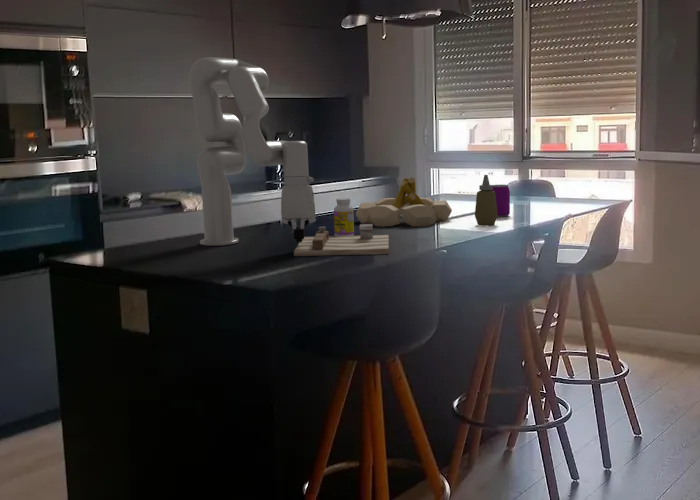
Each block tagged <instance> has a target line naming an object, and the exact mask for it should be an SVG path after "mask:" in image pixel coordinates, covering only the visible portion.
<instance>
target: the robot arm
mask: <svg viewBox="0 0 700 500" xmlns="http://www.w3.org/2000/svg"><path fill="white" fill-rule="evenodd" d="M188 84H189V89H190V92H191V95H192V99H193V107H194V114H195V123H196V131H197V135H198V138H199V139H200V140H201V142H204V143H206V144H207V143H209V144H215V143H216V144H217V143H218V144H219V143H220V144H221V146H211V147H207V148H204V149H202V150H200V152H199V153H198V155H197V158H196V167H197V171H198V175H199V179H200V187H201V200H202V201H201V202H202V217H203V219H202V220H203V234H204V238H203V239H201V240H199V244H200V245H201V246H206V247H207V246H209V247H211V246H212V247H214V246H216V247H217V246H218V247H219V246H228V245H234V244H237V243H239V238H238V237H236V236H235V235H234V221H233V219H234V218H233V203H232V202H233V201H232V200H233V199H232V188H231V185H230V183H229V180H228V179H227V176H231V175H239V174H240V173H241V172H242V171H244V170H245V168H246V163H247V155H246V150H247V152H248V155H249V156H250V158H251V159H252V161H253V162H254V163H255V164H256V165H257V166H260V167H271V166H282V165H283V167H282V168H283V180H284V183H283V184H284V185H283V186H282V187H281V195H280V196H281V197H280V199H281V200H280V213H281V215H280V216H281V218H280V223H281V224H286V225H289V226H290V227H291V228H292V230H293V239H294V240H296V241H295V242H296V243H300V242H302V240H303V239H304V237H305V228H306V227H307V226H308V225H309V224H312V223H315V222H316V221H317V218H316V205H315V197H314V189H313V186H312V185H310V183H314V181H315V179H314V177H311V176H310V173H309V171H310V170H309V156H308V155H309V153H308V151H309V150H308V143H307V142H306V141H304V140H290V141H289V140H284V139H283V140H266V139H265V138H264V135H263V134H262V131H261V128H260V121H261V119H262V118H264V117H265V116H266V115H268V112H269V111H270V106H269V104H268V102H267V99H266V97H265V95H264V93H265V92H266V91H267V90H268V89H269V86H270V78H269V76H268V74H267V72H266V71H265V70H264V69H263V68H262V67H260V66H257V65H254V64H251V63H249V62H245V61H243V60H241V59H237V58H230V57H216V56H215V57H214V56H210V57H209V56H208V57H203V58H199V59H197V60H196V61H194V62H193V64H192V65H191V68H190V71H189V72H188ZM215 85H218V86H219V85H221V86H223V85H226V86H228V87H229V89H230V91H231V93H232V96H233V98H234V101H235V102H236V104H237V106H238V108H239V111H240V113H241V114H242V116H243V123H241V121H240V119H239V118H238V117H237V116H236V115H235V114H233V113H230V112H224V113H223V112H222V104H221V99H220V96H219V94H218V92H217V91H216V89H215V87H214V86H215ZM297 220H300V225H299V226H298V223H297ZM234 236H235V237H234Z"/></svg>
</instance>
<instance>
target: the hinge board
mask: <svg viewBox="0 0 700 500" xmlns="http://www.w3.org/2000/svg"><path fill="white" fill-rule="evenodd" d="M373 225H374V224H373V223H360V224H359V235H353V236H335V235H329V240H327V241H326V243H325V245H324V247H323V249H313V241H312V240H313V239H314V237H315V236H304V239H303V240H302V242H298V244H297V246H296V247H295V249H294V251H293V257H306V256H307V257H309V256H347V255H351V256H352V255H355V256H356V255H358V256H359V255H389V251H390V250H389V249H390V248H389V243H390V242H389V238H390V237H389V234H374V232H373V231H374V229H373V227H374V226H373ZM318 231H327V230H326V226H319V227H318Z"/></svg>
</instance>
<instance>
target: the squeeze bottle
mask: <svg viewBox="0 0 700 500" xmlns="http://www.w3.org/2000/svg"><path fill="white" fill-rule="evenodd" d="M493 185H494V184H490V179H489V176H488V174H484V175H483V179H482V184H479V187H478V189H479V190H478V191H477V192H476V198H475V207H474V208H475V209H474V217H475V221H476V222H477V225H478V226H481V227H491V226H494V225H495V224H496V220H497V218H498V217H497V205H496V196H495V192H494V191H492V189H493Z"/></svg>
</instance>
